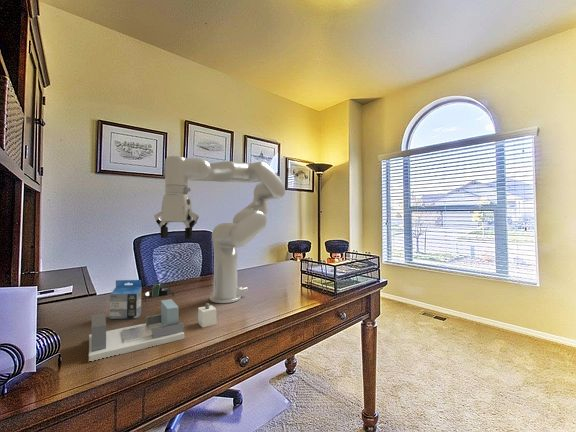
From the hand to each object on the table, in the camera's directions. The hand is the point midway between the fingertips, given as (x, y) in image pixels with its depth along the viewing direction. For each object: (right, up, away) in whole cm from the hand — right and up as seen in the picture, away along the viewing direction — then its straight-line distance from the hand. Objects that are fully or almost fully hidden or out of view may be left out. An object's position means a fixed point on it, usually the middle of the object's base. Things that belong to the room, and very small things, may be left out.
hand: (176, 238), depth 100 cm
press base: (-2, -27, -22) cm, 35 cm away
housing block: (+14, -27, -11) cm, 32 cm away
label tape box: (-15, -27, -6) cm, 31 cm away
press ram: (+5, -25, -18) cm, 31 cm away
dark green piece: (-15, -27, +22) cm, 38 cm away
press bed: (-2, -25, -22) cm, 34 cm away
